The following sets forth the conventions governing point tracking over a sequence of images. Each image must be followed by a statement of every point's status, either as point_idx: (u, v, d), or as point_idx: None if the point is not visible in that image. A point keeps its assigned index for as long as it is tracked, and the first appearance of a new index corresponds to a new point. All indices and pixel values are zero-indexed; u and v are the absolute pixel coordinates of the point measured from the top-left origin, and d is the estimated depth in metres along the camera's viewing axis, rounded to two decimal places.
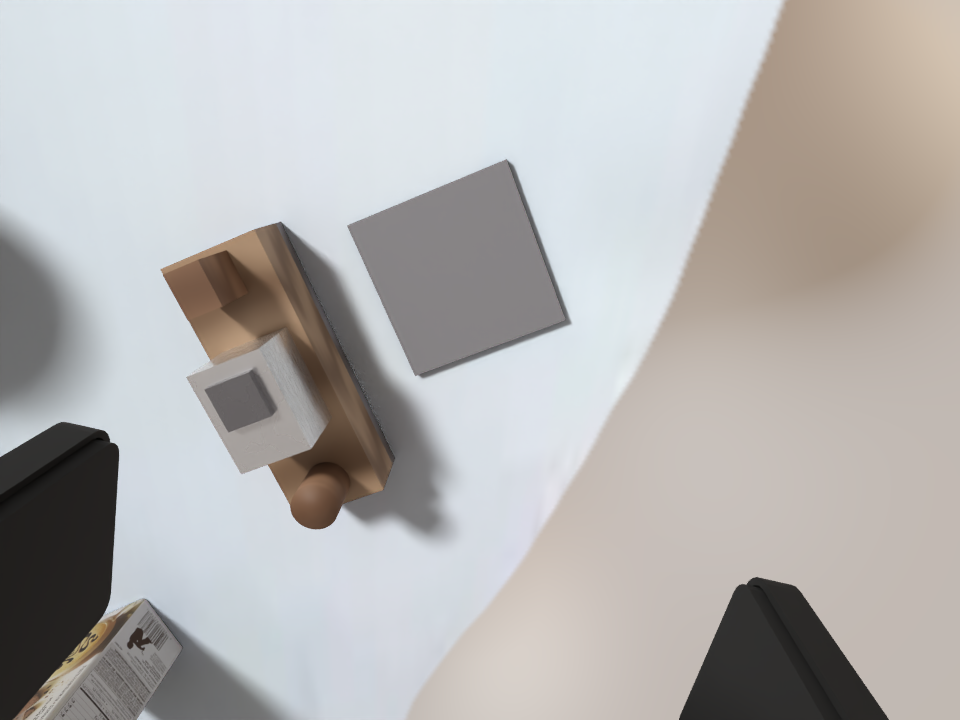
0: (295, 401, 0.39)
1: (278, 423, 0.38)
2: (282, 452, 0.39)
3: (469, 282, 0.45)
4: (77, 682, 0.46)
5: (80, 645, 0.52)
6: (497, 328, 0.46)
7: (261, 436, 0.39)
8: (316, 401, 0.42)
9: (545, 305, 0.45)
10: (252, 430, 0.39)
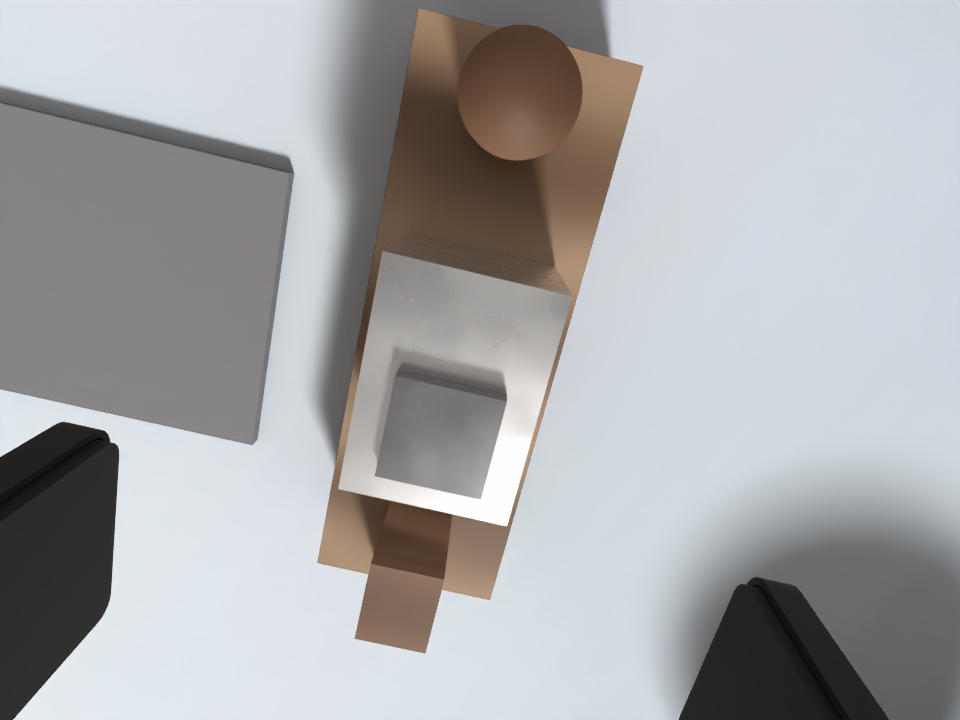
0: None
1: (408, 344, 0.17)
2: (448, 283, 0.16)
3: (114, 262, 0.26)
4: None
5: None
6: (105, 161, 0.24)
7: (463, 343, 0.17)
8: None
9: (6, 146, 0.24)
10: (469, 364, 0.17)
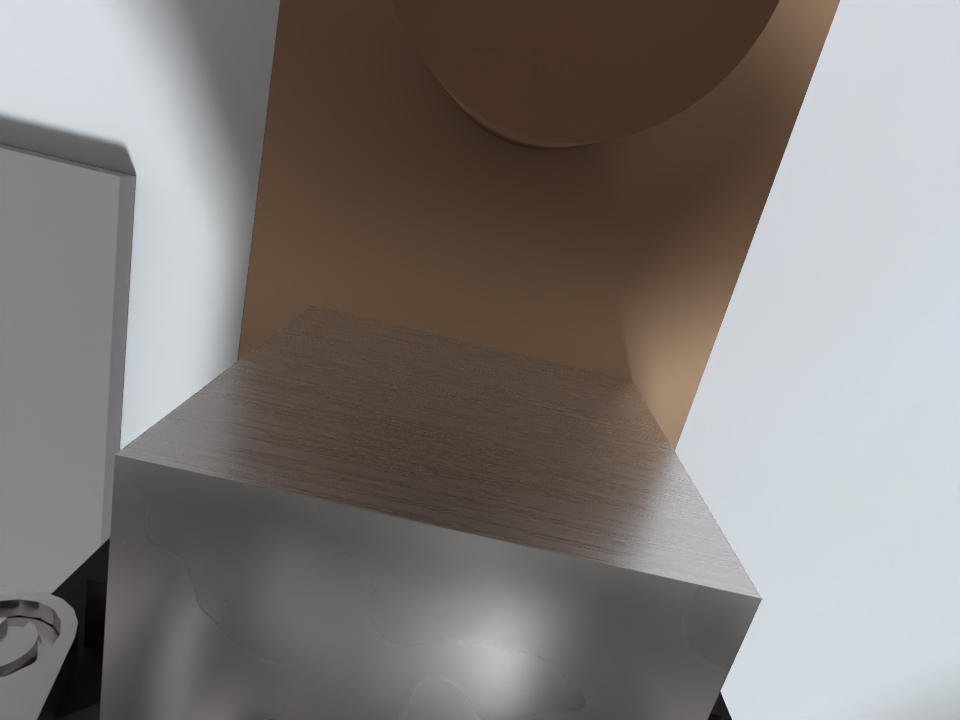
0: None
1: (232, 718, 0.05)
2: (344, 554, 0.05)
3: None
4: None
5: None
6: None
7: (403, 716, 0.05)
8: None
9: None
10: None
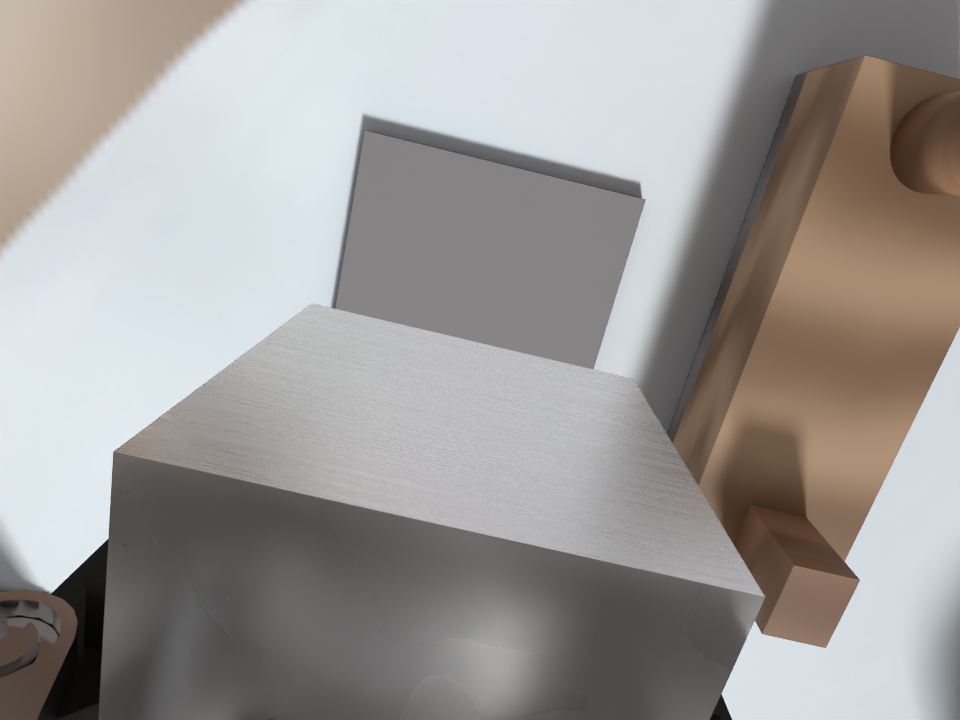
0: None
1: (231, 718, 0.05)
2: (345, 553, 0.05)
3: (466, 281, 0.27)
4: None
5: None
6: (473, 188, 0.26)
7: (403, 716, 0.05)
8: None
9: (381, 174, 0.26)
10: None
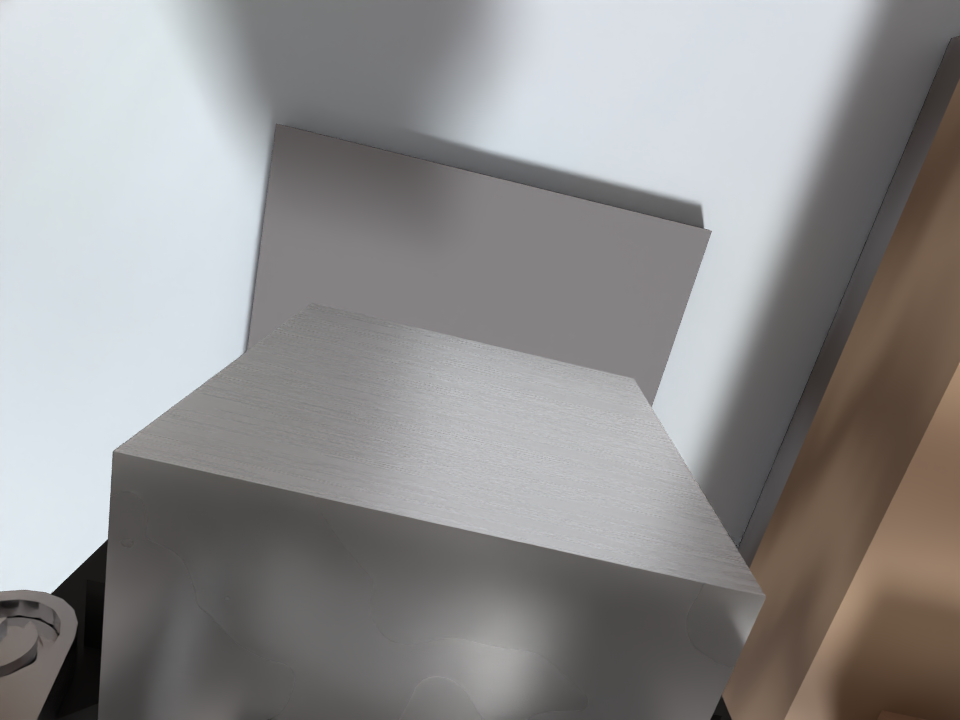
0: None
1: (231, 717, 0.05)
2: (346, 552, 0.05)
3: None
4: None
5: None
6: (446, 213, 0.17)
7: (403, 716, 0.05)
8: None
9: (304, 192, 0.17)
10: None
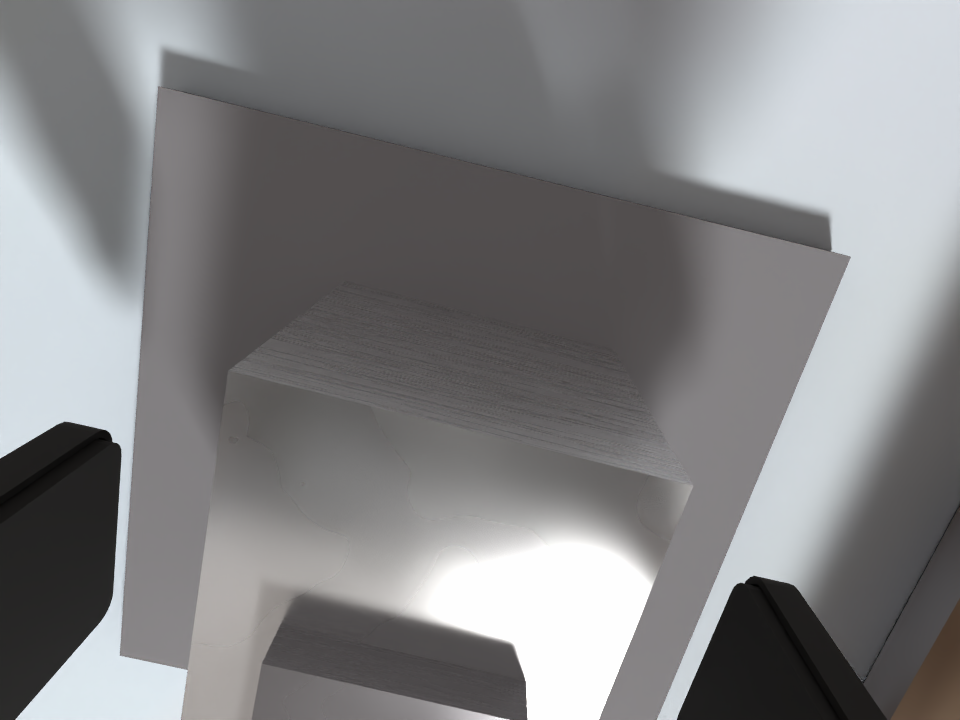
0: None
1: (301, 577, 0.07)
2: (391, 448, 0.07)
3: None
4: None
5: None
6: (432, 229, 0.11)
7: (428, 577, 0.07)
8: None
9: (209, 195, 0.11)
10: (443, 622, 0.07)
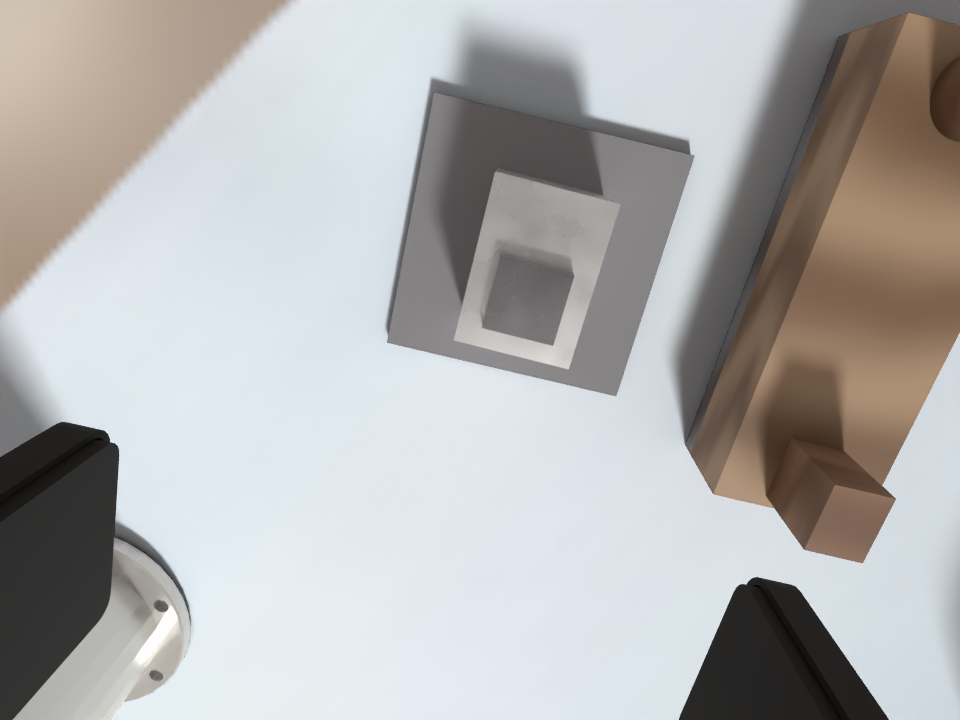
0: None
1: (508, 237, 0.25)
2: (537, 194, 0.24)
3: None
4: None
5: None
6: (533, 146, 0.28)
7: (545, 236, 0.25)
8: None
9: (448, 133, 0.28)
10: (548, 251, 0.25)
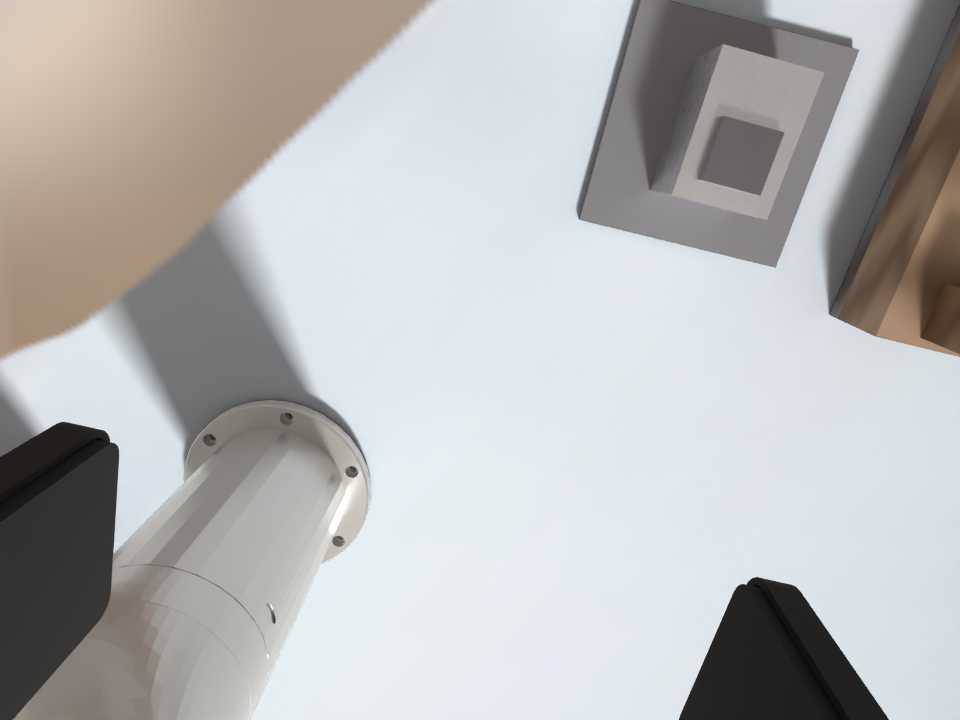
0: (694, 111, 0.31)
1: (728, 101, 0.30)
2: (756, 63, 0.29)
3: None
4: None
5: None
6: (723, 41, 0.33)
7: (759, 100, 0.30)
8: (687, 91, 0.33)
9: (652, 30, 0.33)
10: (761, 114, 0.30)
